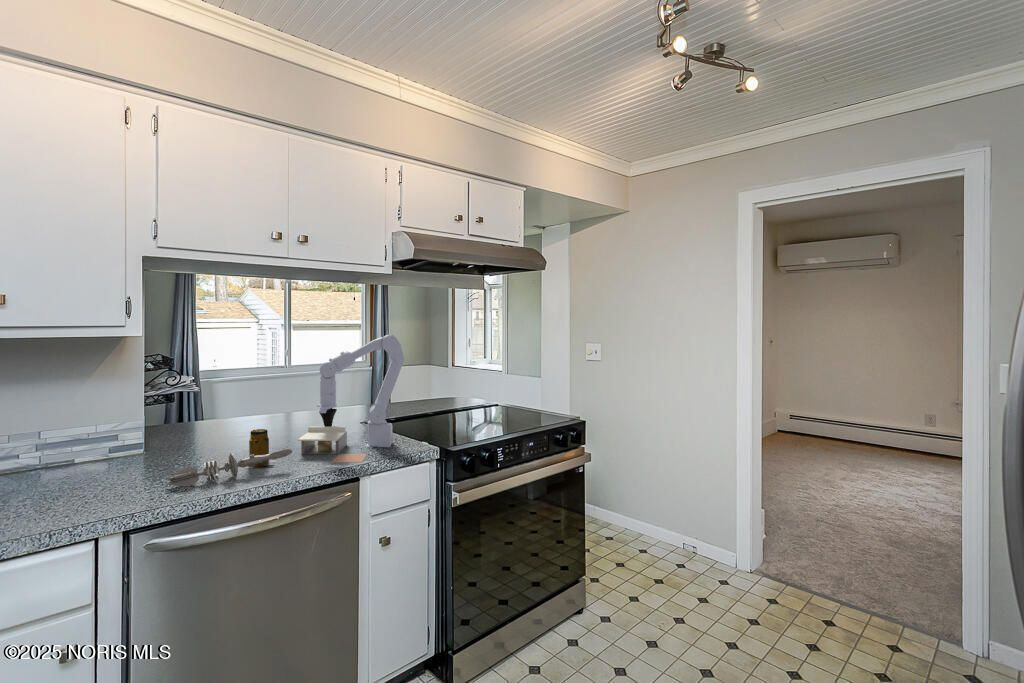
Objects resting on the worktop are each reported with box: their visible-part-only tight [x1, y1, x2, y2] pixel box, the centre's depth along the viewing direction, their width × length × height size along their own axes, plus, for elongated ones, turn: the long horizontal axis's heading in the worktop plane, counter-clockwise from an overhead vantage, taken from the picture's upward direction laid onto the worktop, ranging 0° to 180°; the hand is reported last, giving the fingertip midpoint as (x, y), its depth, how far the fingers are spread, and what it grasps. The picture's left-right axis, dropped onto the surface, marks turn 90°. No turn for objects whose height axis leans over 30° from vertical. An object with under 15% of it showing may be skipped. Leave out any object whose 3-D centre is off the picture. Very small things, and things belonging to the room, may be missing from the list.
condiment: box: [245, 428, 275, 469], centre depth 175 cm, size 7×8×12 cm
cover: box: [297, 425, 347, 442], centre depth 191 cm, size 14×13×2 cm
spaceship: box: [166, 448, 293, 487], centre depth 161 cm, size 8×35×8 cm
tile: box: [332, 453, 368, 463], centre depth 183 cm, size 10×10×1 cm
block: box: [317, 441, 333, 451], centre depth 194 cm, size 4×4×5 cm
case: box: [300, 430, 348, 455], centre depth 194 cm, size 13×13×6 cm
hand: (328, 428), depth 198 cm, fingers closed
